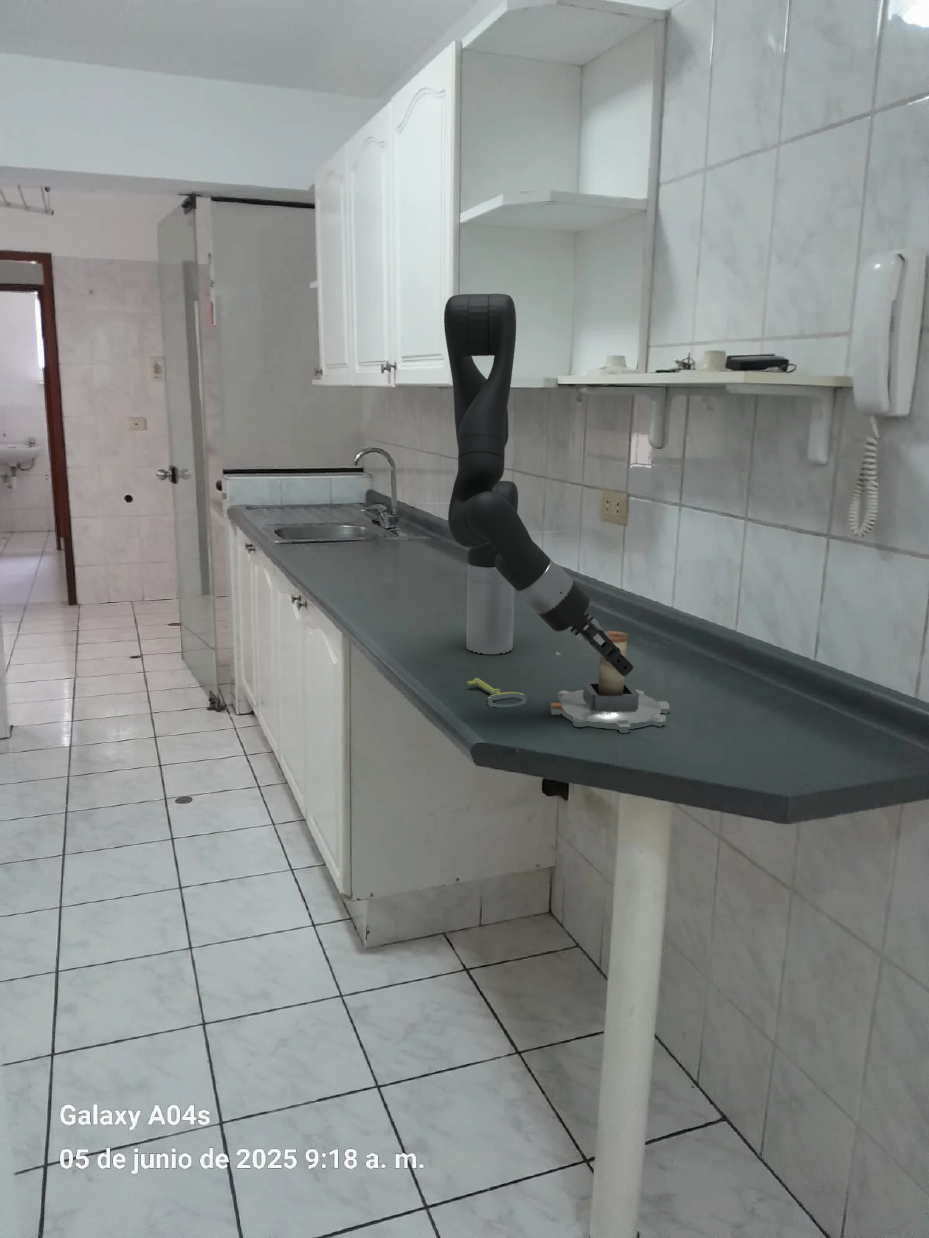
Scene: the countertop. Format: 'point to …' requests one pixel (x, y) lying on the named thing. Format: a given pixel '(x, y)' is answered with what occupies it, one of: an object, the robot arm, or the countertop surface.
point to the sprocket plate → (610, 706)
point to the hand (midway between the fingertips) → (623, 667)
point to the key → (488, 687)
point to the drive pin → (612, 667)
